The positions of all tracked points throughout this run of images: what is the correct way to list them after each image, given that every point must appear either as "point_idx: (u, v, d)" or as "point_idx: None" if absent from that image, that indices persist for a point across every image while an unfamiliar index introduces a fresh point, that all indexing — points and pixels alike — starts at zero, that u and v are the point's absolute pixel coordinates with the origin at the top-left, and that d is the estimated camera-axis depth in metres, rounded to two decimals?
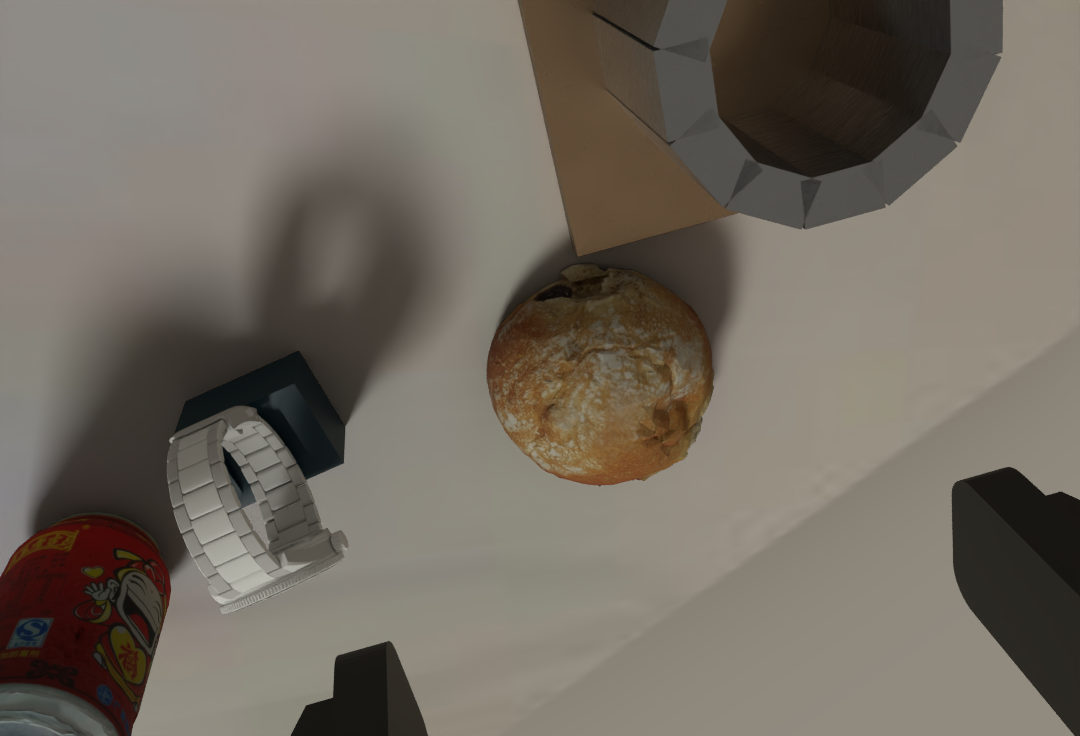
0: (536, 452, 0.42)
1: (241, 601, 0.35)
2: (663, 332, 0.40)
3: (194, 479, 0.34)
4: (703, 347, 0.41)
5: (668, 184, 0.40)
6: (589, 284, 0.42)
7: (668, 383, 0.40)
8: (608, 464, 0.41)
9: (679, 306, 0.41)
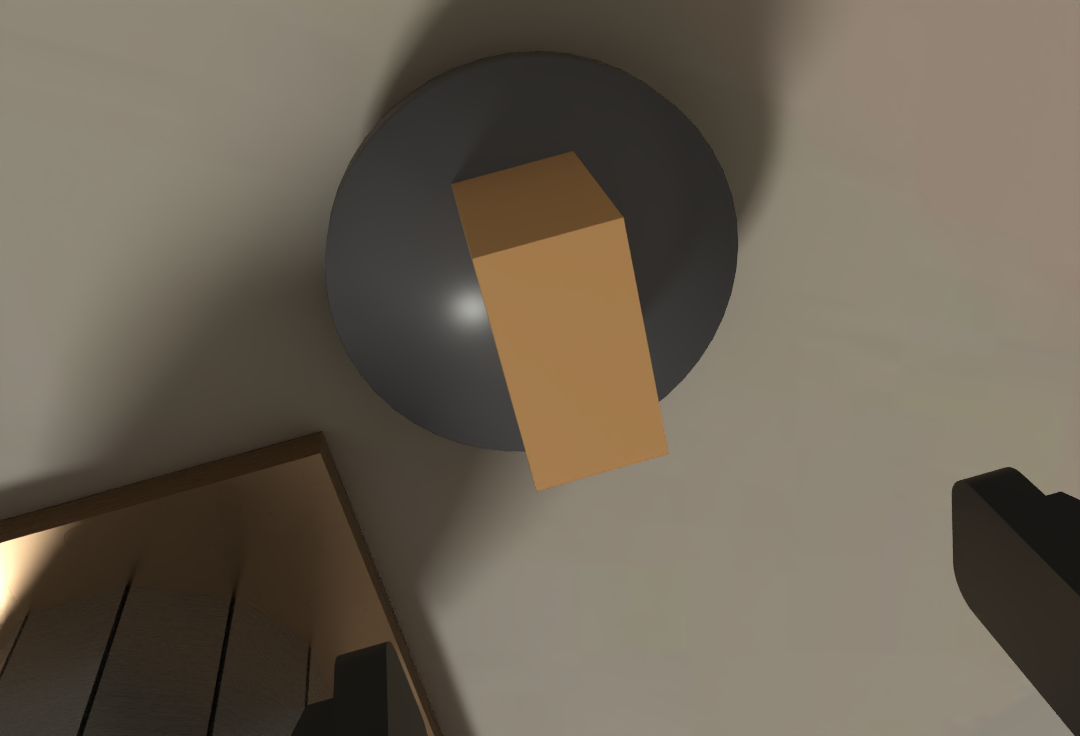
0: None
1: None
2: None
3: None
4: None
5: None
6: None
7: None
8: None
9: None
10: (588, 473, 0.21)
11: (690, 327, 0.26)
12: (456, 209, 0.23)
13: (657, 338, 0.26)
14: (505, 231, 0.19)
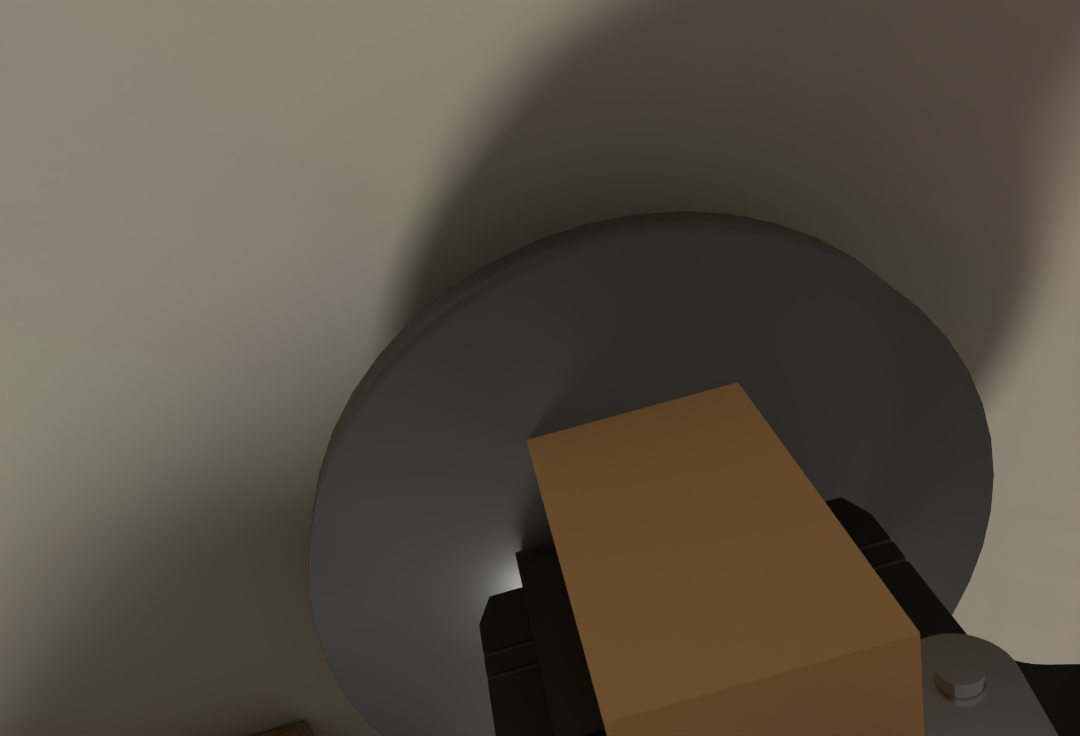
0: None
1: None
2: None
3: None
4: None
5: None
6: None
7: None
8: None
9: None
10: None
11: None
12: (534, 478, 0.13)
13: None
14: (659, 628, 0.10)
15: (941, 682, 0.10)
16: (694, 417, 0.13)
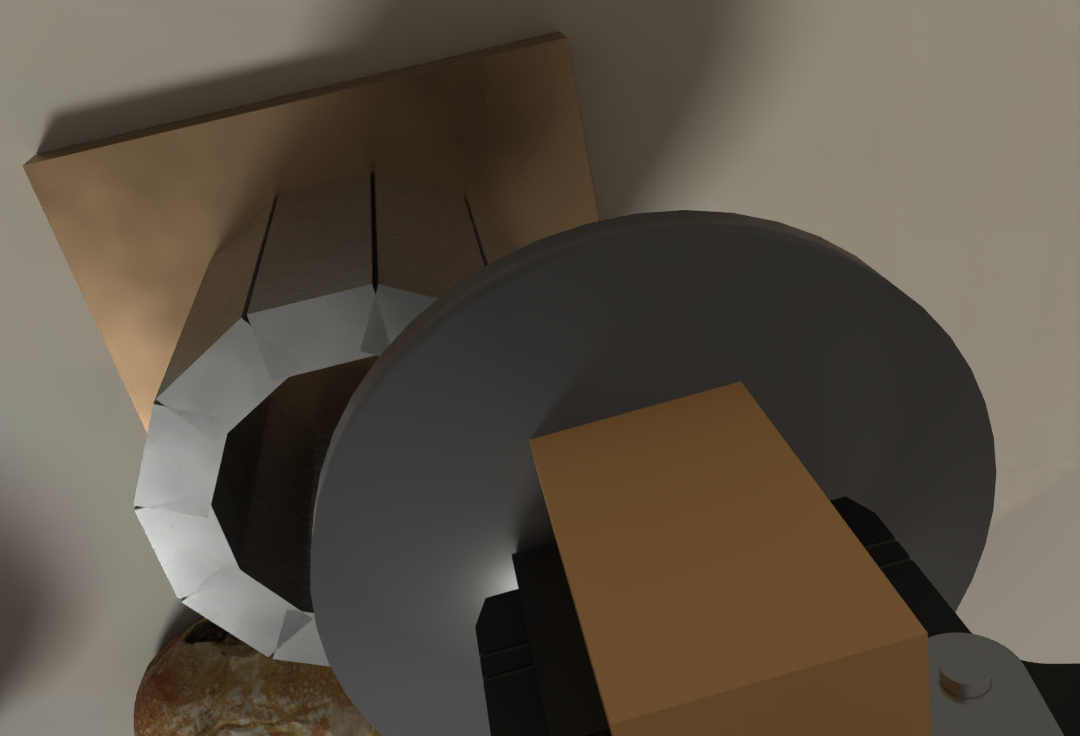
0: None
1: None
2: (315, 699, 0.34)
3: None
4: None
5: None
6: None
7: None
8: None
9: None
10: None
11: None
12: (536, 478, 0.13)
13: None
14: (665, 628, 0.10)
15: (946, 681, 0.10)
16: (697, 416, 0.13)
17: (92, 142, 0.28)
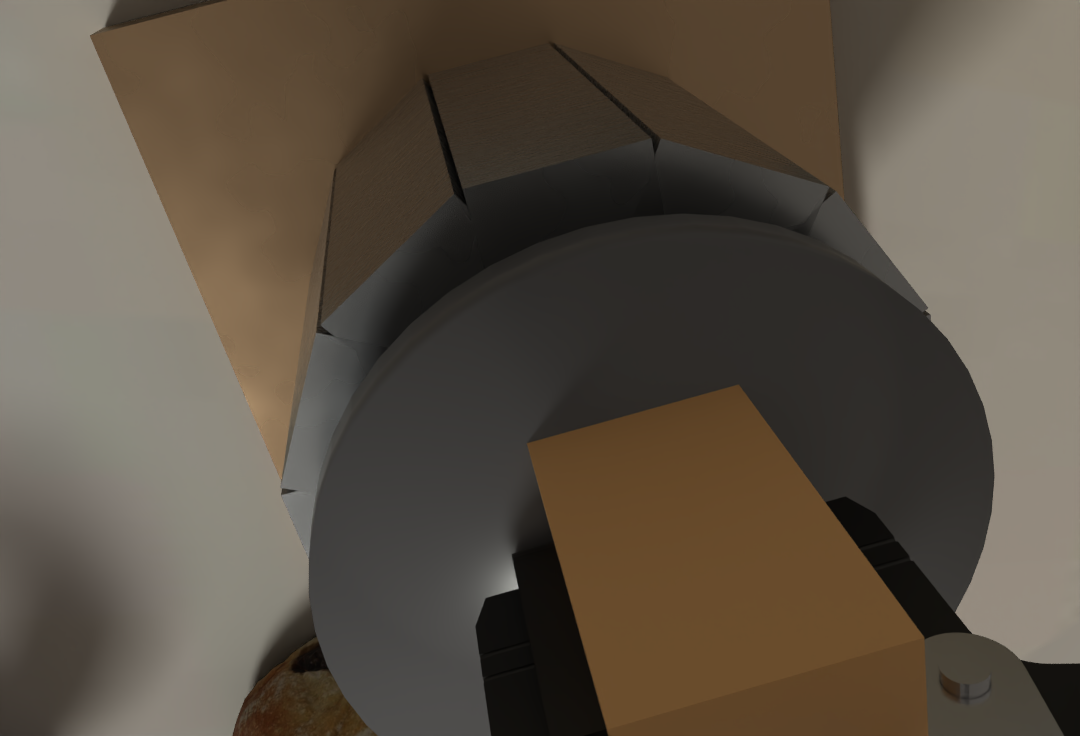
0: None
1: None
2: None
3: None
4: None
5: None
6: None
7: None
8: None
9: None
10: None
11: None
12: (534, 482, 0.13)
13: None
14: (662, 633, 0.10)
15: (946, 682, 0.10)
16: (695, 420, 0.13)
17: (179, 8, 0.21)
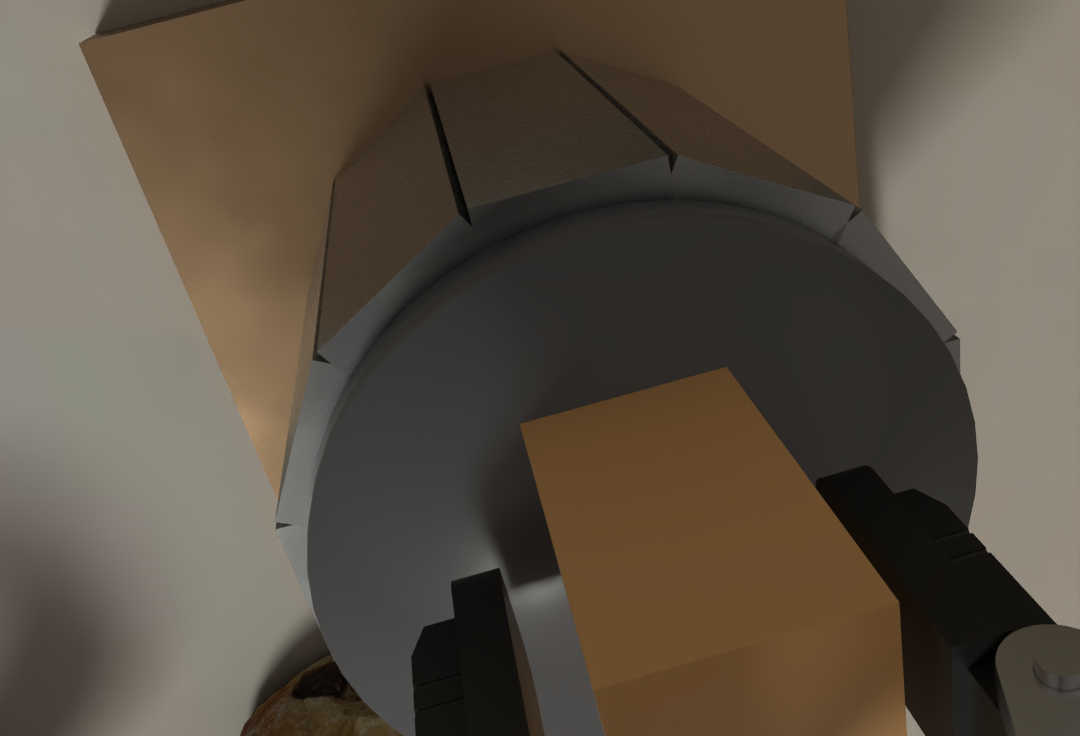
0: None
1: None
2: None
3: None
4: None
5: None
6: None
7: None
8: None
9: None
10: None
11: None
12: (527, 462, 0.14)
13: None
14: (648, 601, 0.10)
15: (1042, 673, 0.10)
16: (683, 400, 0.13)
17: (172, 15, 0.20)
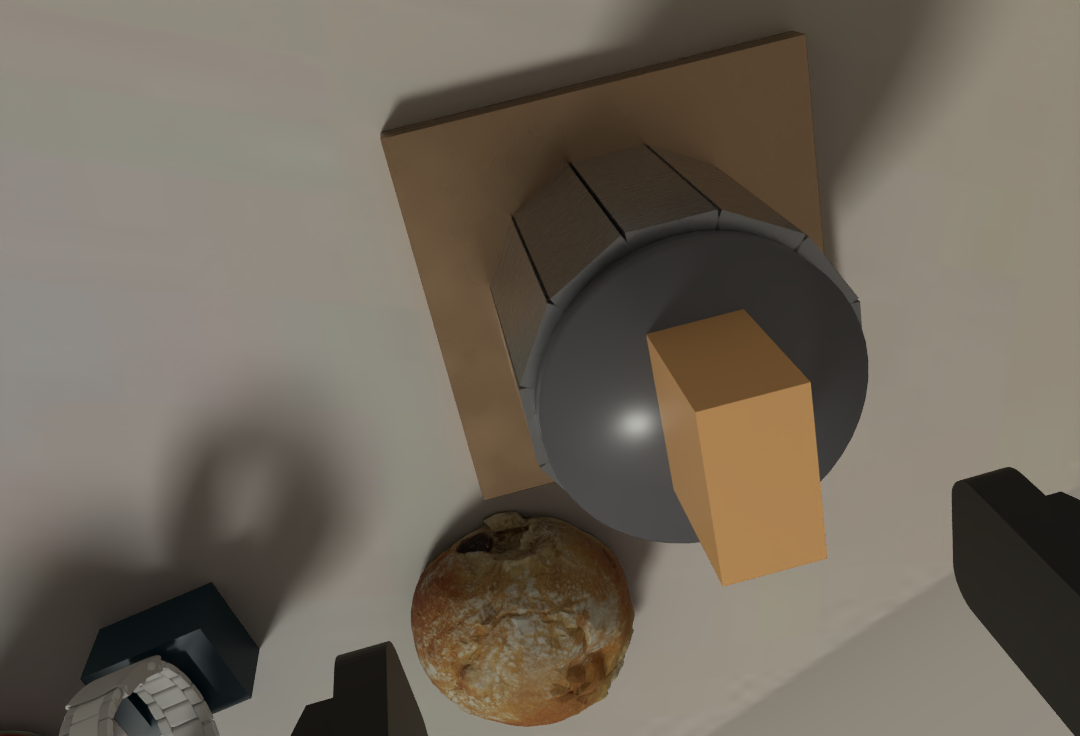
0: (456, 699, 0.43)
1: None
2: (577, 594, 0.41)
3: None
4: (619, 601, 0.42)
5: None
6: (511, 533, 0.43)
7: (581, 644, 0.41)
8: (524, 717, 0.42)
9: (595, 563, 0.42)
10: (763, 572, 0.27)
11: (825, 444, 0.31)
12: (648, 353, 0.29)
13: None
14: (713, 388, 0.25)
15: None
16: (723, 322, 0.28)
17: (426, 122, 0.36)
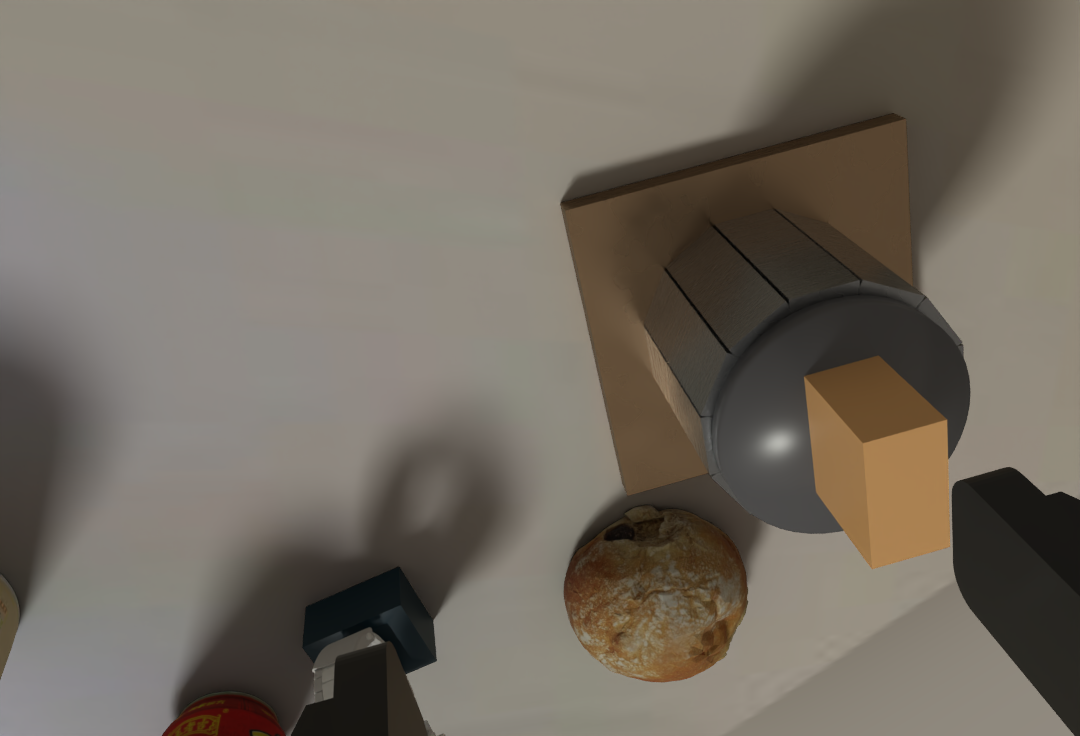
0: (605, 660, 0.52)
1: None
2: (709, 574, 0.50)
3: None
4: (740, 578, 0.51)
5: None
6: (648, 524, 0.52)
7: (713, 614, 0.50)
8: (664, 674, 0.51)
9: (721, 547, 0.51)
10: (902, 558, 0.35)
11: None
12: (804, 390, 0.37)
13: None
14: (871, 423, 0.34)
15: None
16: (865, 367, 0.37)
17: (597, 194, 0.44)
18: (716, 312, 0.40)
